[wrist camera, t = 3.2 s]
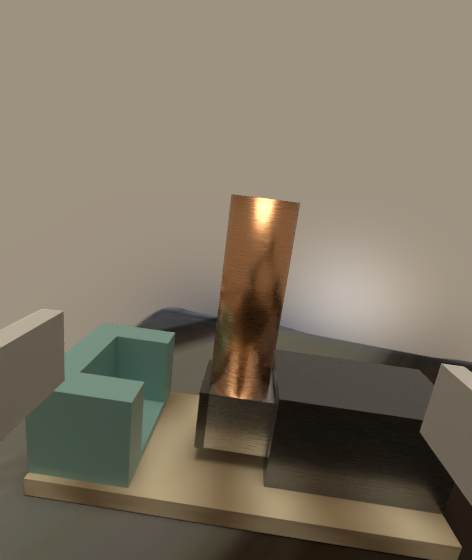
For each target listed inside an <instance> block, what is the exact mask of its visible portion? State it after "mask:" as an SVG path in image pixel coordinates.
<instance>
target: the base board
mask: <svg viewBox="0 0 472 560" xmlns="http://www.w3.org/2000/svg"><path fill="white" fill-rule="evenodd" d="M198 404H199V395H192V394H186V393H179V392H172V391H170V396H169V398H168V400H167V402H166V405H165V407H164V409H163V411H162V413H161V416H160V418H159V420H158V422H157V425H156V427H155V429H154V431H153V434H152V436H151V438H150V440H149V443H148V445H147V447H146V449H145V452H144V454H143V456H142V458H141V460H140V463H139V465H138V467H137V469H136V472H135V474H134V476H133V478H132V481H131V483H130V485H129V487H128V488H123V487H117V486H111V485H104V484H98V483H92V482H85V481H79V480H73V479H66V478H60V477H53V476H47V475H41V474H34V473H28V474H27V475H26V476H25V477H24V493H25V495H29V496H36V497H42V498H48V499H54V500H61V501H67V502H73V503H79V504H86V505H92V506H98V507H105V508H111V509H117V510H123V511H130V512H136V513H142V514H148V515H155V516H161V517H167V518H173V519H180V520H186V521H192V522H198V523H205V524H211V525H217V526H223V527H230V528H236V529H242V530H248V531H255V532H261V533H267V534H273V535H280V536H286V537H292V538H299V539H305V540H311V541H317V542H324V543H330V544H336V545H342V546H349V547H355V548H361V549H367V550H374V551H380V552H386V553H392V554H399V555H405V556H411V557H417V558H424V559H430V560H457V559H458V557H459V554H460V552H461V549H462V547H461V545H460V543H459V542H458V540H457V538H456V537H455V535H454V533H453V531H452V530H451V528H450V526H449V525H448V523H447V521H446V520H445V518H444V516H443V515H442V514H437V513H430V512H424V511H417V510H411V509H404V508H398V507H391V506H385V505H379V504H372V503H366V502H359V501H353V500H346V499H340V498H333V497H327V496H321V495H314V494H308V493H301V492H295V491H288V490H282V489H275V488H269V487H264V482H263V456H257V455H250V454H243V453H237V452H230V451H224V450H217V449H211V448H204V447H203V449H202V448H196V447H194V442H195V433H196V423H197V414H198Z"/></svg>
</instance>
